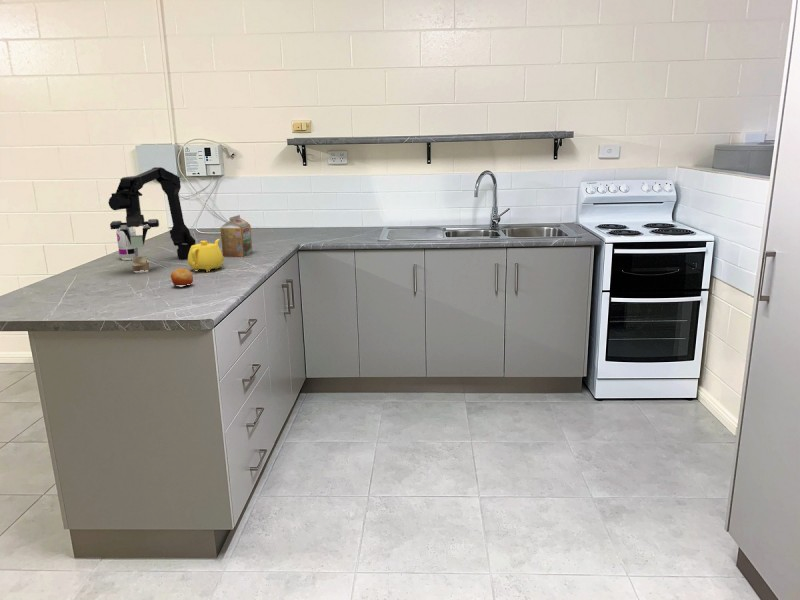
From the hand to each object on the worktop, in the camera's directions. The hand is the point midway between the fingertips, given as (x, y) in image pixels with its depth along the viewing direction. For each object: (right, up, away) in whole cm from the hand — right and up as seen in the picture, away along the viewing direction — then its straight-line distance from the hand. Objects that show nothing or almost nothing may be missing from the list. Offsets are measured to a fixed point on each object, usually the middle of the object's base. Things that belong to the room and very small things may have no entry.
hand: (137, 244), depth 262 cm
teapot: (+28, -10, +6) cm, 31 cm away
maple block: (0, -9, +2) cm, 9 cm away
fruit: (+28, -19, -24) cm, 41 cm away
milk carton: (+33, -2, +37) cm, 50 cm away
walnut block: (0, -12, +3) cm, 12 cm away
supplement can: (-17, -5, +31) cm, 36 cm away
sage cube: (0, -1, 0) cm, 1 cm away
